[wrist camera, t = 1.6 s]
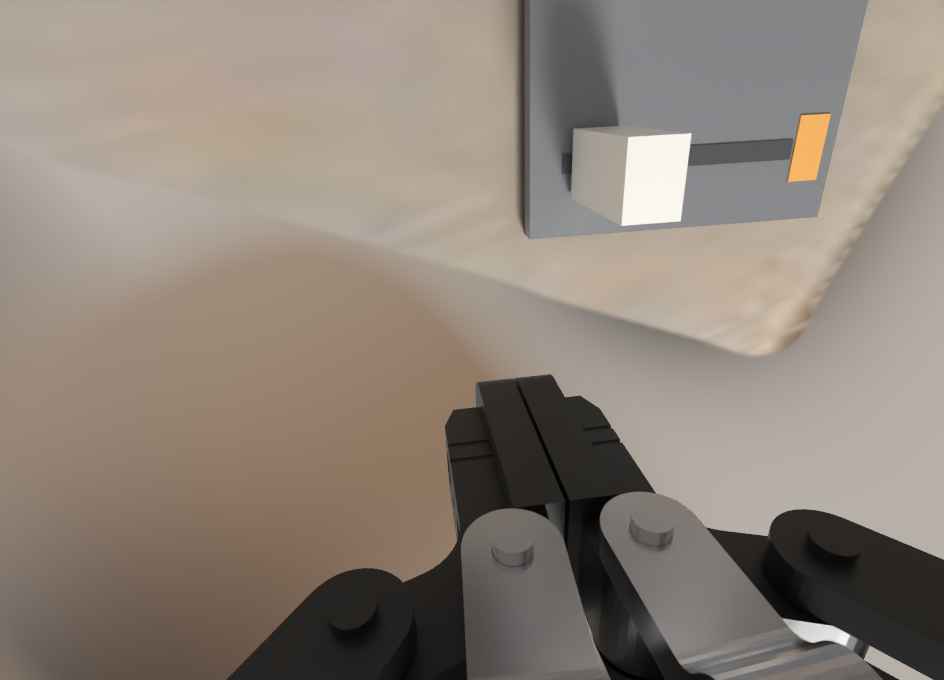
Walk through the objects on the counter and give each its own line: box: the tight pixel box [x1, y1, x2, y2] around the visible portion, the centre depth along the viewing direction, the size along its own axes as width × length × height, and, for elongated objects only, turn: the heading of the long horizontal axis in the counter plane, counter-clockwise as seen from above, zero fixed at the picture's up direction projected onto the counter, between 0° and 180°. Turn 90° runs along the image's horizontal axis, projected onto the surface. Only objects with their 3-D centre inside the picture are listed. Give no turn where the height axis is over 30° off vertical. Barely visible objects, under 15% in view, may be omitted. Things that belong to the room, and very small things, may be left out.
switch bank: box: [524, 0, 868, 239], centre depth 31 cm, size 21×20×2 cm
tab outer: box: [571, 126, 692, 226], centre depth 28 cm, size 4×3×8 cm
